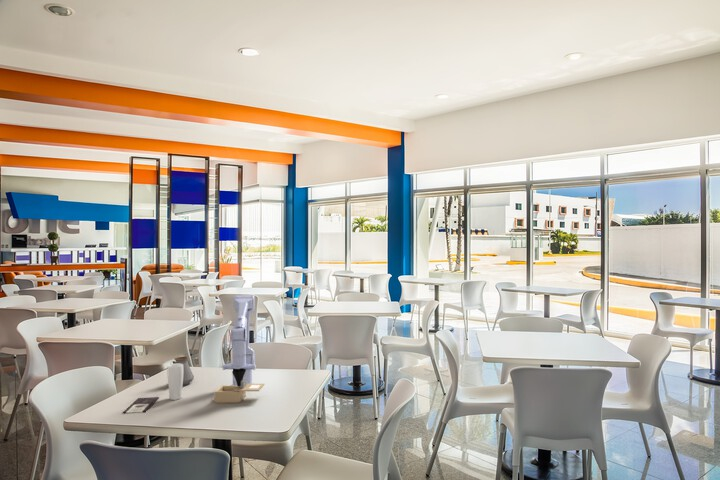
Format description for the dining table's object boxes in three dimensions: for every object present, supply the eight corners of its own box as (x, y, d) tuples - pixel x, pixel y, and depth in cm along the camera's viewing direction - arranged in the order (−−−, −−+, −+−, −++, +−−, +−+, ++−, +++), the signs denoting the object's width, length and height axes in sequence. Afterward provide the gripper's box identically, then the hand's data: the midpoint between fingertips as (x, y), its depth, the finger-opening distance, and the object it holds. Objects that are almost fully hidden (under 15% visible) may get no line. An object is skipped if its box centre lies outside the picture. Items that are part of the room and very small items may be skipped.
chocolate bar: (159, 397, 212) (145, 410, 194) (159, 399, 212) (145, 413, 194) (138, 398, 211) (122, 412, 193) (138, 400, 211) (122, 414, 193)
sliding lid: (233, 391, 204) (233, 383, 204) (239, 384, 214) (239, 377, 214) (259, 391, 204) (258, 383, 204) (264, 384, 213) (264, 377, 213)
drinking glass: (187, 397, 213) (186, 364, 213) (175, 401, 207) (175, 367, 207) (176, 395, 216) (175, 362, 216) (164, 399, 210) (163, 366, 210)
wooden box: (215, 402, 205) (214, 391, 205) (222, 396, 214) (222, 385, 214) (239, 402, 204) (239, 391, 204) (245, 396, 213) (245, 385, 213)
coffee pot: (173, 381, 239) (172, 351, 239) (196, 380, 240) (196, 350, 240) (159, 394, 217) (159, 362, 218) (185, 393, 219) (185, 361, 219)
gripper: (220, 357, 205) (220, 388, 205) (252, 357, 205) (253, 388, 205) (225, 353, 213) (225, 383, 212) (257, 353, 212) (257, 383, 212)
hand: (239, 385), depth 209 cm, fingers closed
